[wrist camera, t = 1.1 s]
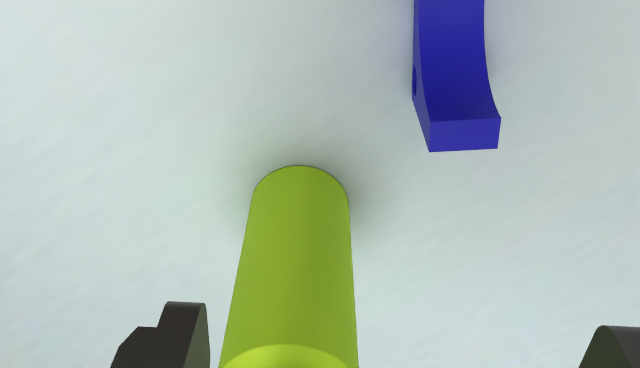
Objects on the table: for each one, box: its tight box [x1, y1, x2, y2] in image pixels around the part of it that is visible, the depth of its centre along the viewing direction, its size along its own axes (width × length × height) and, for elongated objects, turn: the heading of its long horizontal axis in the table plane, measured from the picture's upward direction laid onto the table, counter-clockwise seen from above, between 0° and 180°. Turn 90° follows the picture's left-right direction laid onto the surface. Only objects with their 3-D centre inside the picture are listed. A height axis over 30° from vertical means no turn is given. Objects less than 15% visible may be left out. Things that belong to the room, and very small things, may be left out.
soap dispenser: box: [218, 166, 359, 368], centre depth 25 cm, size 6×7×20 cm
